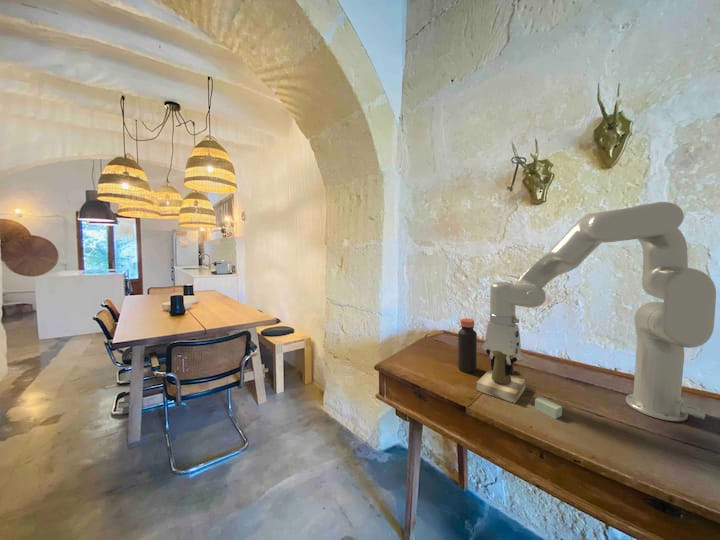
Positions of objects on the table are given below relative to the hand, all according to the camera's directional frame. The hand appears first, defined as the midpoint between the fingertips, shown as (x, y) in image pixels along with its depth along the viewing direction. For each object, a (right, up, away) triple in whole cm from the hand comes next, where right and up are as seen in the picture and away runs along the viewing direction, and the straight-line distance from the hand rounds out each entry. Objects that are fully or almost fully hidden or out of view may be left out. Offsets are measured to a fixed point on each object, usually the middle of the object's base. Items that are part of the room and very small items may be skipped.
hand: (501, 371), depth 97 cm
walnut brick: (+8, -5, +14) cm, 17 cm away
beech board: (0, -6, +1) cm, 6 cm away
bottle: (-5, -5, +16) cm, 18 cm away
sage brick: (+8, -8, -12) cm, 16 cm away
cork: (0, -3, 0) cm, 3 cm away
